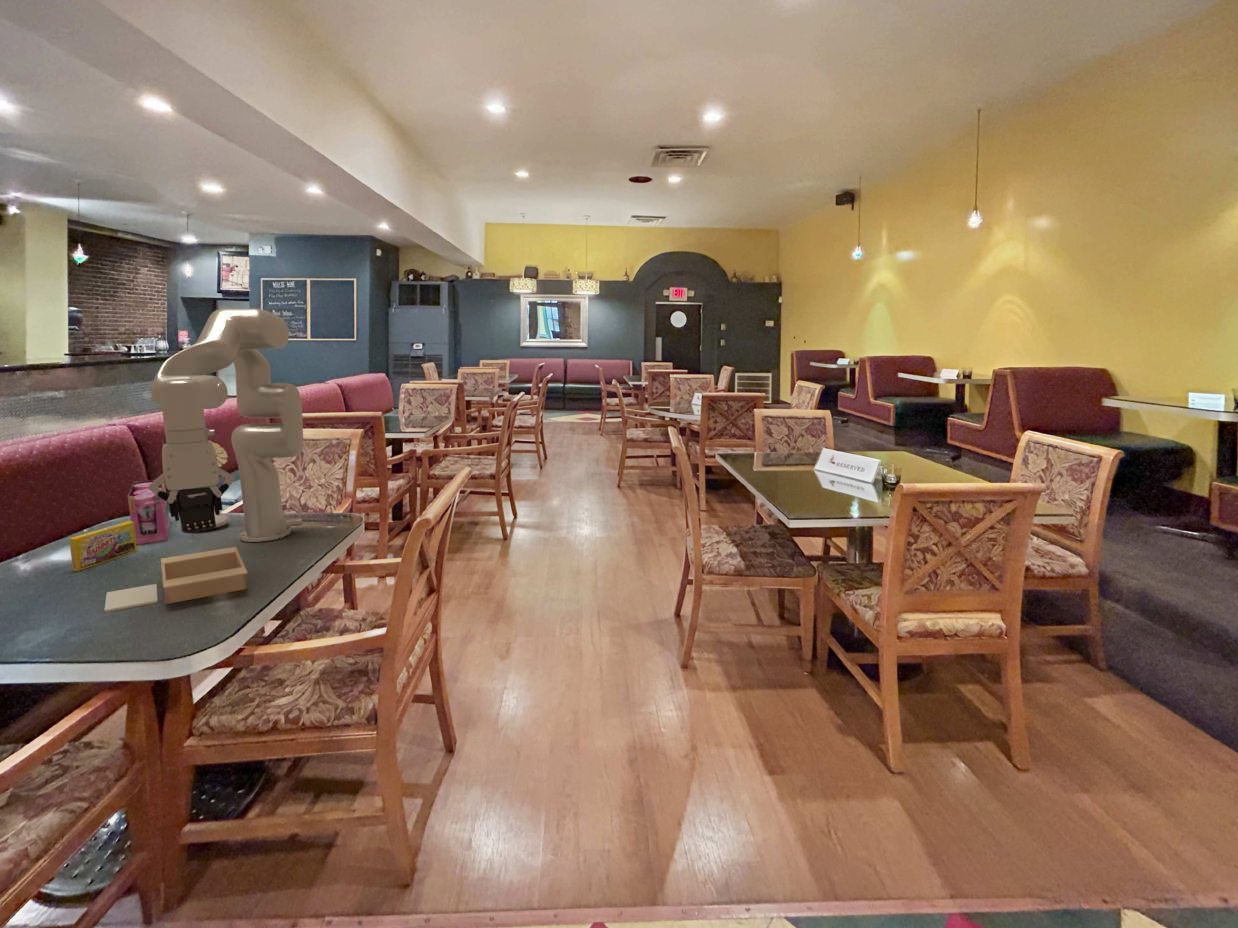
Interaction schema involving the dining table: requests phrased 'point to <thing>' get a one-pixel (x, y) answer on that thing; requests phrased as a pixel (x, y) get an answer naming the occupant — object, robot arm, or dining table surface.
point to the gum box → (148, 513)
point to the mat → (131, 597)
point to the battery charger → (196, 509)
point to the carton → (203, 574)
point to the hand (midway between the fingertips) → (197, 516)
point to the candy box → (102, 545)
